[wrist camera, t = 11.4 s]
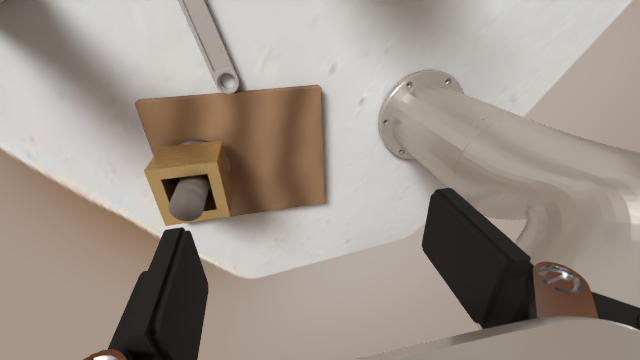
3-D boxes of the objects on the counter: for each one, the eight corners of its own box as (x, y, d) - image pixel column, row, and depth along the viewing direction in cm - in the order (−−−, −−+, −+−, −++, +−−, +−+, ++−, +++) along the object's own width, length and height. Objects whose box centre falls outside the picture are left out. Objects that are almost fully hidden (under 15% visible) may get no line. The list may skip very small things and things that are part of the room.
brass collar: (222, 140, 35) (216, 162, 30) (233, 189, 38) (230, 216, 33) (160, 147, 34) (144, 170, 29) (177, 196, 37) (165, 225, 32)
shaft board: (318, 84, 36) (341, 109, 27) (322, 197, 45) (341, 245, 36) (139, 99, 33) (94, 133, 24) (180, 217, 42) (159, 276, 32)
